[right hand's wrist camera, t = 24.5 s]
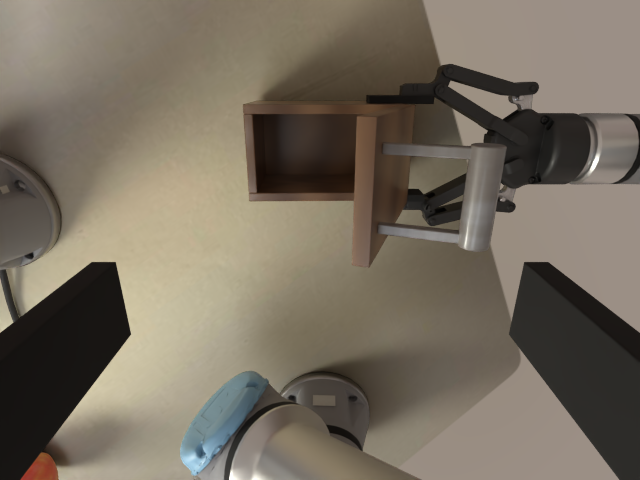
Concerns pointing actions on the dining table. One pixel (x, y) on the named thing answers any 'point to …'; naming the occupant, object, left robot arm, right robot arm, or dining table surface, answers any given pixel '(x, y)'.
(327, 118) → the chest
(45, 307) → the right robot arm
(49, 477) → the apple
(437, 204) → the left robot arm
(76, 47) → the dining table surface
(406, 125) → the lid
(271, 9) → the dining table surface
